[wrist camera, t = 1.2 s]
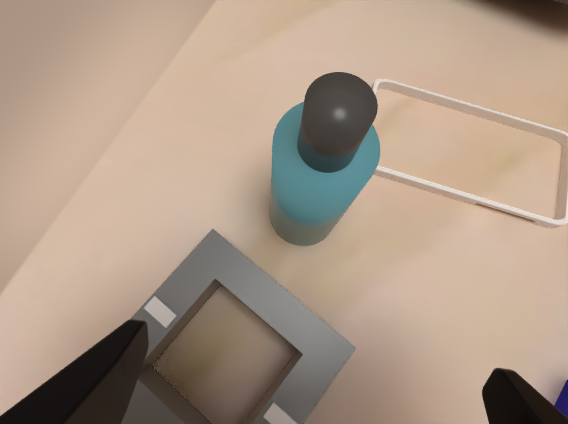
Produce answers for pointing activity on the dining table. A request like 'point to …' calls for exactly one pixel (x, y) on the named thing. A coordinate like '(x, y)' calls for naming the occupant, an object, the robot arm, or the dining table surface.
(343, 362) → the socket
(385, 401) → the dining table surface
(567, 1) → the bluetooth speaker
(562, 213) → the phone case
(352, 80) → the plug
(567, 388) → the cable clip
